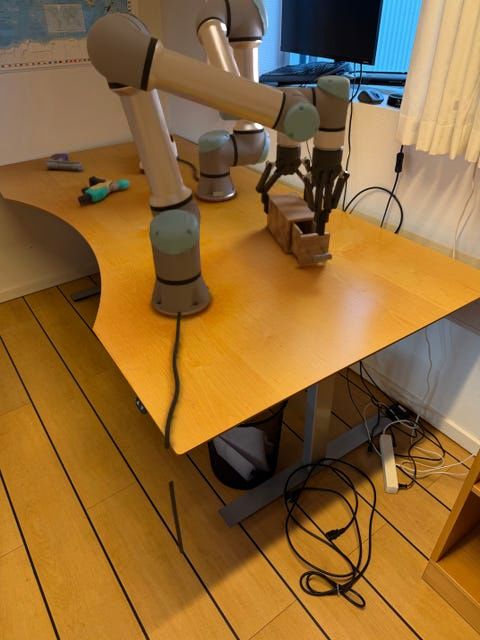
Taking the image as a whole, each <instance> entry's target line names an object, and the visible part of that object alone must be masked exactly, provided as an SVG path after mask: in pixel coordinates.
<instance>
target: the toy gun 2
mask: <svg viewBox="0 0 480 640" xmlns="http://www.w3.org/2000/svg"><path fill="white" fill-rule="evenodd" d="M88 183H89V187H88V186H85V187H83V188H81V190H80V191H81V193H82V195H80V196H78V197H77V201H78V203H79V205H83V204H86V203H88V202H90V201H91V202H93V203H94V202H97V201H101V200H102V199H104V198H105V197H106V196H108V195H109V194H110V193H111V192H116V191H118V190H120V191H123V190H126V189H127V188H128V187H129V186H130V181H129V180H127V179H119V180H117V182H113V181H112V180H109V179H105V178H104V179H101V178H98V177H96V176H95V175H93V176H90V177H89V178H88Z"/></svg>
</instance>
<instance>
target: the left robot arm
mask: <svg viewBox="0 0 480 640" xmlns="http://www.w3.org/2000/svg"><path fill="white" fill-rule="evenodd" d="M86 50H87V51H86V52H87V55H88V58H89V61H90V63H91V65H92V66H93V67H94V69H95V70H96V71H97V72H98V73H99V74H100V75H101V76H102V77H103V78H105V80H106V83H107V86H108V89H109V91H111V92H113V93H114V94H115V95H117V96H118V97H119V100H120V104H121V105H122V110H123V112H124V115H125V118H126V122H127V124H128V127H129V130H130V133H131V136H132V139H133V142H134V145H135V148H136V151H137V155H138V157H139V160H140V162H141V163H142V166H143V169H144V170H143V169H142V170H143V172H144V175H145V179H146V181H147V184H148V187H149V190H150V193H151V194H150V196H149V198H148V200H147V201H148V202H147V203H148V205H149V209H150V213H151V215H152V217H153V218H152V219H151V220H150V222H149V231H148V237H149V241H150V245H151V253H152V260H153V261H152V262H153V268H154V274H155V275H154V276H155V281H154V284H153V290H152V294H151V305H152V308H153V310H154V311H155V312H156V313H157V314H159V315H160V316H163V317H167V318H171V319H176V328H175V340H174V346H173V351H172V372H173V376H174V382H175V383H174V388H175V389H174V395H173V398H172V401H171V403H170V406H169V409H168V412H167V416H166V422H165V427H164V449H165V450H168V449H170V447H171V446H170V445H171V443H170V442H171V441H170V440H171V437H170V436H171V424H172V418H173V414H174V411H175V408H176V405H177V402H178V399H179V394H180V376H179V372H178V366H177V365H178V364H177V359H178V358H177V356H178V350H179V345H180V344H179V343H180V335H181V320H182V319H183V318H185V319H186V318H190V317H194V316H196V315H199V314H201V313H202V312H204V311H205V310H207V308H208V307H209V306H210V303H211V294H210V293H211V292H210V288H209V286H208V285H207V284H206V281H205V278H204V277H203V275H202V262H201V261H202V259H201V247H200V246H201V243H200V242H201V241H200V239H201V236H200V235H201V234H200V232H201V218H202V217H201V211H200V208H199V206H198V204H197V202H196V201H195V198H194V195H193V192H192V188H191V187H189V186H187V185H185V184H184V180H183V177H182V174H181V170H180V166H179V163H178V160H177V159H176V158H177V157H176V156H175V152H174V149H173V145H172V142H171V139H170V135H171V134H170V132H169V129H168V125H167V121H166V118H165V114H164V111H163V108H162V107H163V106H162V104H161V100H160V97H159V93H158V91H159V92H162V93H166V94H169V95H171V96H175V97H178V98H180V99H184V100H187V101H189V102H192V103H195V104H198V105H200V106H204V107H206V108H210V109H212V110H216V111H218V112H219V111H221V112H224V113H227V114H230V115H233V116H236V117H239V118H242V119H245V120H248V121H250V122H253V123H256V124H259V125H262V126H264V128H269V129H271V130H273V131H275V132H277V131H279V132H281V133H284V134H286V135H287V136H288V137H289V138H290V139H292V140H293V141H296V142H302V143H305V142H308V141H310V140H311V139H312V138H313V140H312V144H313V147H312V153H311V164H310V166H311V168H310V170H309V171H310V172H308V173H307V172H306V174H303V175H301V179H302V180H301V179H300V180H301V181H302V183H303V188H304V187H305V193H306V199H307V205H308V208H309V209H310V210H311V211H312V212H314V222H315V223H316V233H317V234H318V235H319V236H323V235H324V233H325V232H326V224H327V223H329V221H330V214H331V213H332V212H333V211H332V210H337V208H338V205H339V203H340V200H341V198H342V197H341V196H342V194H343V191H344V188H345V185H346V182H347V181H348V180H349V178H350V177H351V173H349V172H348V171H346V170H344V169H343V165H342V162H343V155H344V148H343V147H344V145H345V139H346V138H345V137H346V126H347V118H348V111H349V104H350V92H351V82H350V79H349V78H347V77H346V76H343V75H323V76H320V77H319V78H317V79H318V80H317V83H316V86H310V87H309V86H308V87H300V88H282V87H283V86H280V87H277V88H271V87H272V86H268V85H266V84H263V83H260V82H259V83H258V82H255V81H252V80H249V79H247V78H244V77H241V76H239V75H236V74H233V73H231V72H228V71H225V70H222V69H220V68H217V67H214V66H212V65H211V64H210V63H209V64H208V63H206V62H203V61H201V60H198V59H195V58H193V57H190V56H188V55H184V54H182V53H180V52H176V51H174V50H170V49H168V48H165V47H164V45H163V42H162V40H160V39H158V38H156V37H153V36H152V35H151V32H150V30H149V28H148V27H147V25H146V24H145V23H144V21H143V20H142V19H141V18H139V17H138V16H137V15H135V14H133V13H131V12H128V11H123V10H119V11H112V12H110V13H107V14H105V15H104V16H101V17H100V18H98V19H96V21H94V22H93V24H92V25H91V26H90V29H89V30H88V33H87V36H86ZM311 177H313V178H314V180H315V185H316V187H315V189H314V190H312V185H311V181H312V179H311ZM335 181H336V182H335ZM314 191H315V192H314ZM174 485H175V484H174V480H171V481H169V482H168V487H169V488H168V489H169V490H168V491H169V497H170V503H171V504H170V505H171V510H172V515H173V522H174V527H175V532H176V538H177V543H178V550H179V553H180V554H183V553H184V545H183V539H182V538H183V537H182V532H181V525H180V520H179V515H178V509H177V502H176V493H175V486H174Z"/></svg>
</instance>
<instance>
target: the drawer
mask: <svg viewBox="0 0 480 640" xmlns="http://www.w3.org/2000/svg"><path fill="white" fill-rule="evenodd" d="M330 239H331V232H330V231H325V233H324V235H323V236H319V235H318V234H317V233H316V223H315V222H314V220H308V221H300V222H292V223H291V226H290V244H289V247H290V249H291V250H292V251H293V253H292V254H294V256H295V257H296V258H297V264H298V266H305V265H313V264H314V265H315V264H320V263H326V262H328V261H330V260H332V259H333V255H332V253H329V249H330V241H331V240H330Z"/></svg>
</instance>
